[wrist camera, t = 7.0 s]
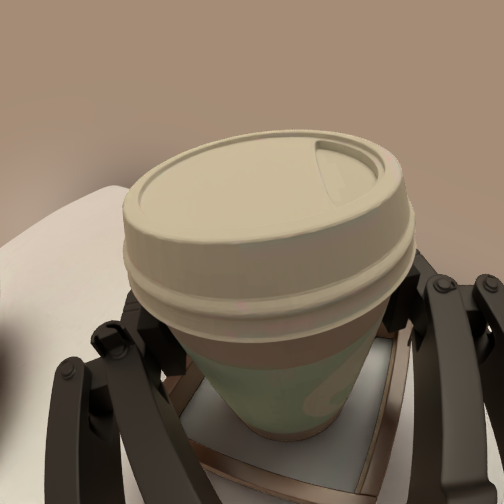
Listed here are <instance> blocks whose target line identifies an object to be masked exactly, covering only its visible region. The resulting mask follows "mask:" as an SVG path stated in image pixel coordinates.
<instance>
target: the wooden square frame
mask: <svg viewBox="0 0 504 504" xmlns="http://www.w3.org/2000/svg"><path fill="white" fill-rule="evenodd" d="M412 327H413V324H412V322H411V321H410V319H408V322H407V325H406V328H405V329H402V330H399V331H395V332H392V333H389V334H388V332H387V330H386V328H385V326H384V324H383V322H382V321H381V323H380V326H379V328H378V331H377V333H376V336H379V337H385V338H391V339H394V340H393V347H392V353H391V359H390V364H389V370H388V375H387V380H386V385H385V389H384V394H383V398H382V403H381V407H380V411H379V415H378V419H377V423H376V427H375V431H374V434H373V438H372V441H371V445H370V448H369V451H368V455H367V458H366V461H365V464H364V467H363V470H362V473H361V476H360V479H359V482H358V485H357V488H356V490H355V493H349V492H344V491H339V490H335V489H330V488H326V487H322V486H318V485H314V484H310V483H306V482H302V481H299V480H295V479H292V478H288V477H285V476H282V475H279V474H275V473H272V472H269V471H266V470H263V469H261V468H258V467H255V466H252V465H249V464H247V463H244V462H241V461H239V460H236V459H234V458H231V457H229V456H226V455H224V454H221V453H219V452H217V451H214V450H212V449H210V448H208V447H205V446H203V445H201V444H199V443H197V442H195V441H192V440H190V439H188V440H189V442H190V444H191V446H192V448H193V450H194V452H195V454H196V456H197V458H198V460H199V462H200V464H201V466H202V468H204V469H207V470H209V471H211V472H213V473H215V474H218V475H220V476H222V477H225V478H227V479H229V480H232V481H234V482H237V483H239V484H242V485H244V486H247V487H250V488H252V489H255V490H258V491H261V492H264V493H266V494H269V495H272V496H275V497H279V498H282V499H285V500H288V501H292V502H295V503H299V504H376V501H377V496H378V495H379V492H380V489H381V486H382V483H383V479H384V476H385V473H386V469H387V466H388V462H389V459H390V455H391V451H392V447H393V443H394V439H395V435H396V431H397V426H398V422H399V417H400V412H401V407H402V402H403V396H404V391H405V384H406V378H407V371H408V364H409V356H410V348H411V344H410V346H407V343H408V339H409V336H410V334H411V331H412ZM204 377H205V376H204V374H203V373H202V372H201V371H200V369H199V368H198V367H197V366H196V364H195V363H194V362H193V360H192V359H191V358H190V356H189V355H188V354H187V357H186V375H181V376H171V377H166V379H165V380H164V382H163V384H164V385H165V388H166V390H167V393H168V395H169V397H170V400H171V402H172V405H173V407H174V409H175V412H176V414H177V416H178V417H179V415H180V414H181V412H182V411H183V409H184V408H185V406H186V405H187V403H188V401H189V400H190V398H191V397H192V395H193V394H194V392H195V391H196V389H197V387H198V386H199V384H200V383H201V381H202V380H203V378H204Z"/></svg>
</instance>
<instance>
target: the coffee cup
mask: <svg viewBox="0 0 504 504" xmlns="http://www.w3.org/2000/svg"><path fill="white" fill-rule="evenodd" d="M123 220H124V229H125V240H124V245H123V259H124V264H125V267H126V269H127V271H128V279H129V283H130V287H131V289H132V291H133V293H134V295H135V297H136V298H137V300H138V301H139V302H140V304H141V305H142V306H143V307H144V308H145V309H146V310H147V311H148V312H149V313H150V314H152V315H153V316H154V317H156V318H157V319H159V320H160V321H162V322H163V323H165V324H166V325H167V326H168V328H169V329H170V330H171V332H172V333H173V335H174V336H175V338H176V339H177V340H178V342H179V343H180V344H181V346H182V347H183V348H184V350H185V351H186V352H187V354H188V355H189V356H190V358H191V359H192V360H193V362H194V363H195V364H196V366H197V367H198V368H199V369H200V371H201V372H202V373H203V374H204V376H205V377H206V378H207V380H208V381H209V382H210V383H211V385H212V386H213V387H214V388H215V389H216V391H217V392H218V393H219V394H220V395H221V397H222V398H223V399H224V400H225V401H226V403H227V404H228V405H229V406H230V407H231V409H232V410H233V411H234V412H235V413H236V414H237V415H238V416H239V418H240V419H241V420H242V421H243V422H244V423H245V424H246V425H247V426H248V427H249V428H250V429H251V430H252V431H254V432H255V433H257V434H259V435H261V436H263V437H265V438H268V439H272V440H276V441H298V440H303V439H306V438H309V437H312V436H314V435H316V434H318V433H320V432H321V431H323V430H324V429H326V428H327V427H328V426H329V425H330V424H331V423H332V422H333V421H334V420H335V419H336V417H337V416H338V414H339V413H340V411H341V409H342V407H343V405H344V403H345V401H346V400H347V398H348V396H349V394H350V392H351V390H352V387H353V385H354V383H355V381H356V379H357V377H358V375H359V373H360V370H361V368H362V366H363V364H364V362H365V359H366V357H367V355H368V352H369V350H370V348H371V345H372V343H373V341H374V338H375V336H376V333H377V331H378V328H379V326H380V323H381V321H382V318H383V316H384V313H385V310H386V308H387V305H388V302H389V299H390V296H391V294H392V293H393V292H394V291H395V290H396V288H397V287H398V286H399V285H400V284H401V282H402V281H403V280H404V278H405V277H406V275H407V274H408V272H409V270H410V268H411V266H412V263H413V261H414V257H415V253H416V234H415V225H416V222H415V213H414V209H413V206H412V204H411V202H410V200H409V198H408V197H407V192H406V187H405V182H404V177H403V172H402V169H401V165H400V163H399V162H398V161H397V159H396V158H395V157H394V156H393V155H392V154H391V153H390V152H389V151H387V150H386V149H385V148H383V147H381V146H379V145H377V144H375V143H373V142H371V141H368V140H365V139H362V138H359V137H356V136H351V135H347V134H342V133H337V132H329V131H319V130H279V131H278V130H277V131H267V132H259V133H251V134H245V135H240V136H235V137H230V138H226V139H222V140H219V141H215V142H211V143H208V144H205V145H202V146H199V147H196V148H193V149H191V150H188V151H186V152H183V153H181V154H179V155H177V156H175V157H173V158H170V159H168V160H166V161H165V162H163V163H161V164H159V165H158V166H156V167H154V168H153V169H151V170H150V171H149V172H147V173H146V174H145V175H143V176H142V177H141V178H140V179H139V180H138V181H137V182H136V183H135V184H134V185H133V186H132V187H131V188H130V190H129V192H128V193H127V195H126V197H125V199H124V202H123Z"/></svg>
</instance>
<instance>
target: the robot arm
mask: <svg viewBox="0 0 504 504" xmlns="http://www.w3.org/2000/svg"><path fill="white" fill-rule="evenodd" d="M408 319H410V321H411V322H412V324H413V328H412V331H411V334H410V336H409V339H408V343H407V346H410V344H411V341H412V352H413V370H414V436H413V454H412V466H411V477H410V486H409V494H408V500H407V503H406V504H497V490H496V487H495V485H494V484H493V483H491V482H490V481H489V479H488V476H487V436H486V421H485V410H484V404H485V407H486V410H487V413H488V416H489V419H490V422H491V425H492V428H493V432H494V435H495V439H496V442H497V446H498V450H499V454H500V458H501V462H502V466H503V471H504V285H503V283H502V282H501V281H500V280H499V279H498V278H496V277H495V276H492V275H489V274H482V275H480V276H478V278H477V279H476V281H475V284H474V285H458V284H457V282H456V281H455V280H454V279H452V278H451V277H448V276H447V275H442V274H437V272H436V271H435V270H434V269H433V268H432V266H431V265H430V264H429V263H428V262H427V260H426V259H425V258H424V257H423V256H422V255H421V254H420V252H419V251H418V250H417V249H416V253H415V257H414V261H413V263H412V266H411V268H410V270H409V272H408V274H407V275H406V277H405V278H404V280H403V281H402V282H401V284H400V285H399V286H398V287H397V288H396V290H395V291H394V292H393V293H392V294H391V296H390V299H389V302H388V305H387V308H386V310H385V313H384V316H383V318H382V322H383V324H384V326H385V328H386V330H387V332H388V334H389V333H392V332H395V331H399V330H402V329H405V328H406V325H407V322H408ZM488 326H490V328H491V330H492V332H490V331H489V329H488ZM91 344H92V346H93V347H94V348H95V350H96V351H97V352H98V354H99V355H100V356H101V357H99V358H97V359H95V360H92V361H89V362H87V363H84V362H83V361H82V360H81V359H80V358H78V357H69V358H66V359H65V360H64V361H62V362H61V363H60V364H59V366H58V367H57V369H56V372H55V376H54V382H53V388H52V394H51V401H50V409H49V417H48V426H47V437H46V451H45V478H44V493H45V504H126V503H125V495H124V486H123V476H122V464H121V449H120V434H121V438H122V441H123V444H124V447H125V451H126V454H127V457H128V460H129V463H130V466H131V468H132V471H133V474H134V477H135V480H136V482H137V485H138V487H139V490H140V493H141V495H142V498H143V500H144V502H145V504H222V502H221V501H220V499H219V497H218V495H217V494H216V492H215V490H214V488H213V487H212V485H211V483H210V481H209V479H208V477H207V476H206V474H205V472H204V470H203V468H202V466H201V464H200V462H199V460H198V458H197V456H196V454H195V452H194V450H193V448H192V446H191V444H190V442H189V440H188V438H187V436H186V434H185V431H184V429H183V427H182V425H181V423H180V421H179V418H178V416H177V414H176V412H175V409H174V407H173V405H172V402H171V400H170V397H169V395H168V393H167V390H166V388H165V385H164V384H163V382H162V381H161V380H160V378H161V369H162V371H163V372H164V374H165V375H166V377H171V376H181V375H186V357H187V352H186V351H185V350H184V348H183V347H182V346H181V344H180V343H179V342H178V340H177V339H176V338H175V336H174V335H173V333H172V332H171V330H170V329H169V328H168V326H167V325H166V324H165V323H163V322H162V321H160V320H159V319H157V318H156V317H154V316H153V315H152V314H150V313H149V312H148V311H147V310H146V309H145V308H144V307H143V306H142V305H141V304H140V302H139V301H138V300H137V298H136V297H135V295H134V293H133V291H132V289H131V290H130V292H129V293H128V295H127V298H126V302H125V305H124V309H123V313H122V316H121V320H120V321H113V320H112V321H108V322H105V323H103V324H102V325H100V326H99V327H98V328H97V329H96V330H95V331H94V333H93V335H92V336H91Z"/></svg>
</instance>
